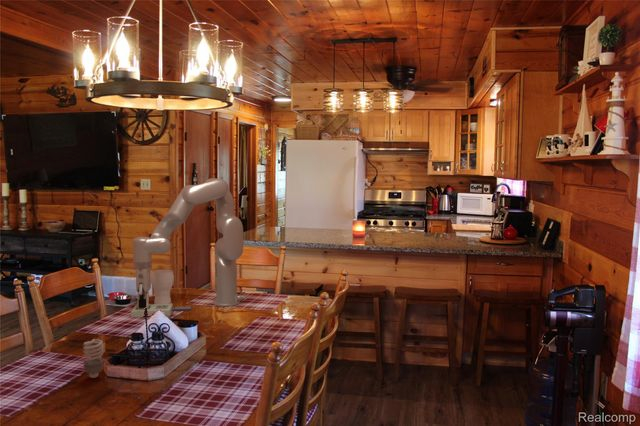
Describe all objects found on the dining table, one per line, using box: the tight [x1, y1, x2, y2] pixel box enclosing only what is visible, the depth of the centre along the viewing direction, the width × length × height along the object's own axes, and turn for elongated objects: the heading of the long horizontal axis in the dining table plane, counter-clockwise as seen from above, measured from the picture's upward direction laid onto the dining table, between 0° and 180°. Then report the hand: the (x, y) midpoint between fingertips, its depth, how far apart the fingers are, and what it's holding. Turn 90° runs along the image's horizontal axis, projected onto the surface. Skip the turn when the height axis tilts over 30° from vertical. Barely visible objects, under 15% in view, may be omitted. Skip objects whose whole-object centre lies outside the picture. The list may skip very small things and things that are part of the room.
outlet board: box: [130, 302, 174, 318], centre depth 229 cm, size 16×12×3 cm
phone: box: [172, 306, 193, 312], centre depth 236 cm, size 8×4×1 cm, turn 98°
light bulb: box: [82, 338, 104, 379], centre depth 157 cm, size 6×6×12 cm
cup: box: [150, 269, 175, 304], centre depth 247 cm, size 11×11×15 cm
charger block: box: [137, 291, 150, 310], centre depth 228 cm, size 4×4×7 cm
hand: (143, 306), depth 228 cm, fingers closed on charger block, 4 cm apart
